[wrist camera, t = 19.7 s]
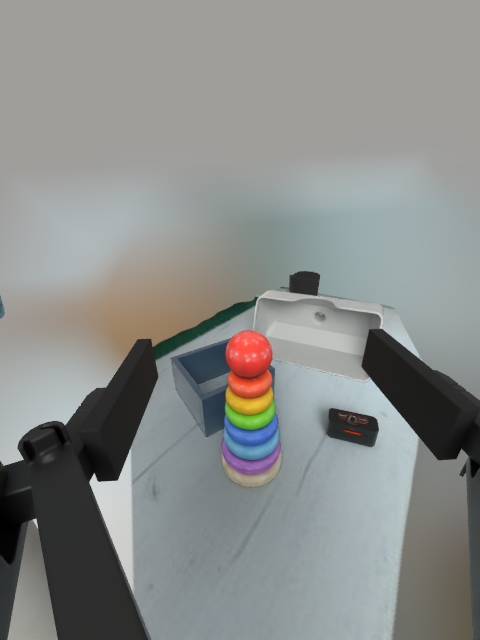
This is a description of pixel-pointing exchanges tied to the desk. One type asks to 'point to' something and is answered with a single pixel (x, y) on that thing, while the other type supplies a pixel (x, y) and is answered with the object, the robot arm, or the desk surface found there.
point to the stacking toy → (250, 413)
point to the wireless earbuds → (352, 427)
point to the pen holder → (304, 283)
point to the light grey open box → (317, 331)
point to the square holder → (200, 369)
